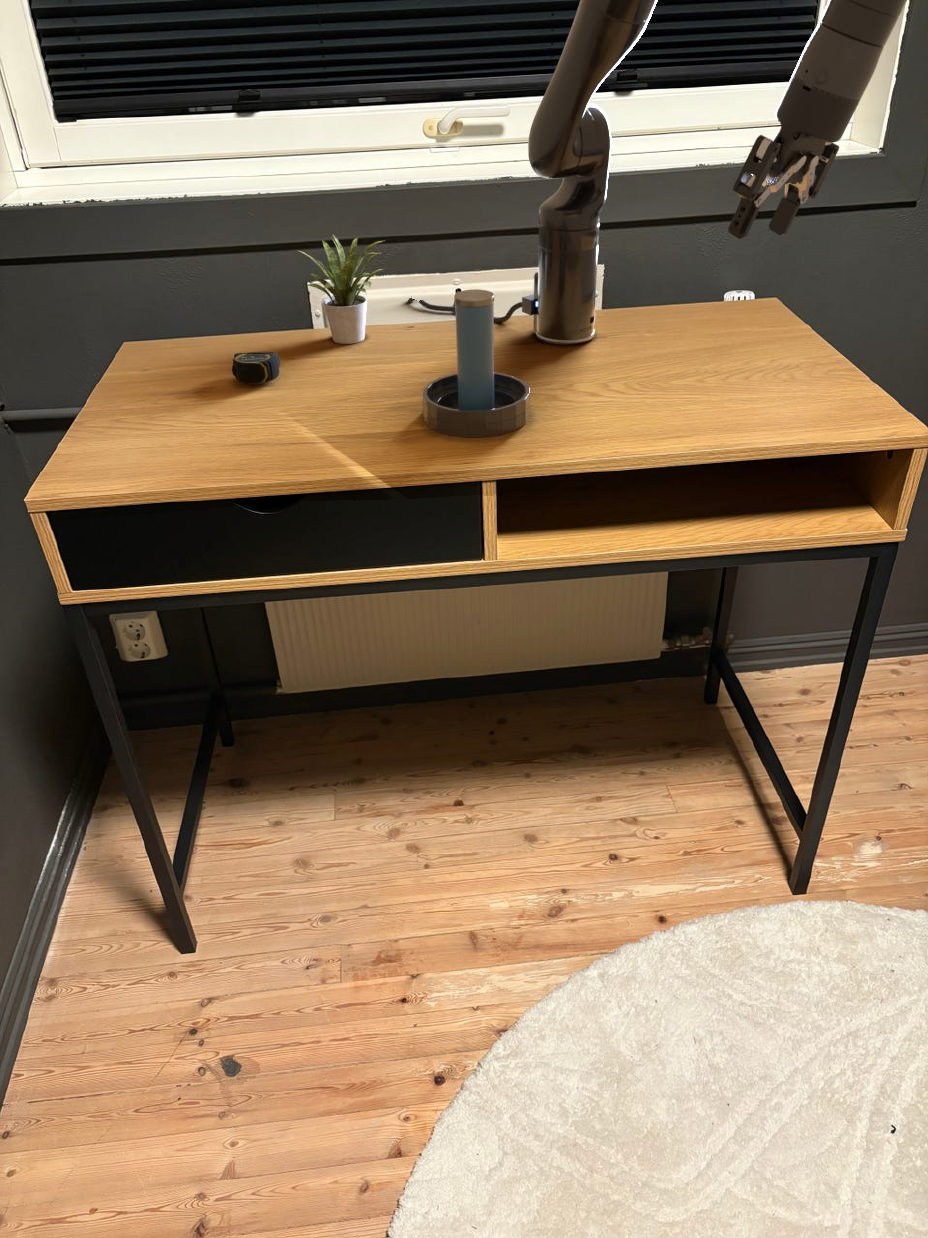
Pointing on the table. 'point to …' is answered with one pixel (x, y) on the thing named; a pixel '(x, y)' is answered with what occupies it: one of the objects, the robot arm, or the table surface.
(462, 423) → the bowl
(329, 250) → the house plant
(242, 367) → the tape measure
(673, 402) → the table surface
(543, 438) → the table surface
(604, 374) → the table surface
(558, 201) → the robot arm
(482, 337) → the canister
